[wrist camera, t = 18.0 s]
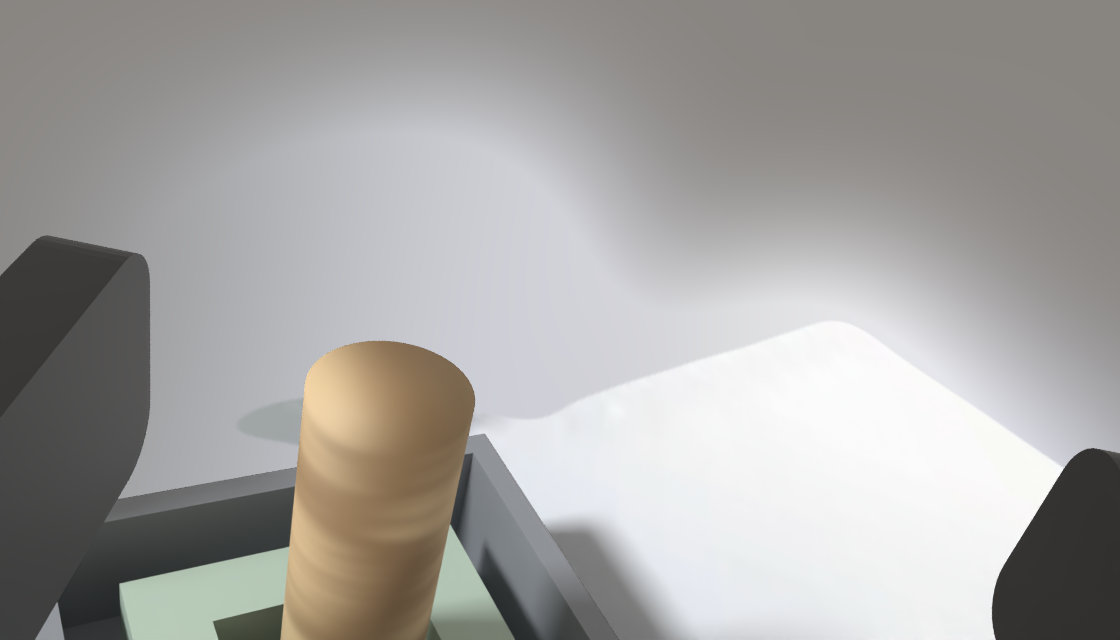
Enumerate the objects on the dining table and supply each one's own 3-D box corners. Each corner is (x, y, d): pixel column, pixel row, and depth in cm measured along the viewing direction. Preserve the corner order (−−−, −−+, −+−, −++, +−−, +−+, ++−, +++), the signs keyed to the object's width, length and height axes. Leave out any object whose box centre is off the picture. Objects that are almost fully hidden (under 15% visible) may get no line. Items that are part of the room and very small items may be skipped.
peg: (375, 681, 39) (436, 332, 31) (420, 785, 36) (502, 430, 28) (254, 717, 37) (283, 351, 28) (291, 831, 34) (337, 460, 25)
